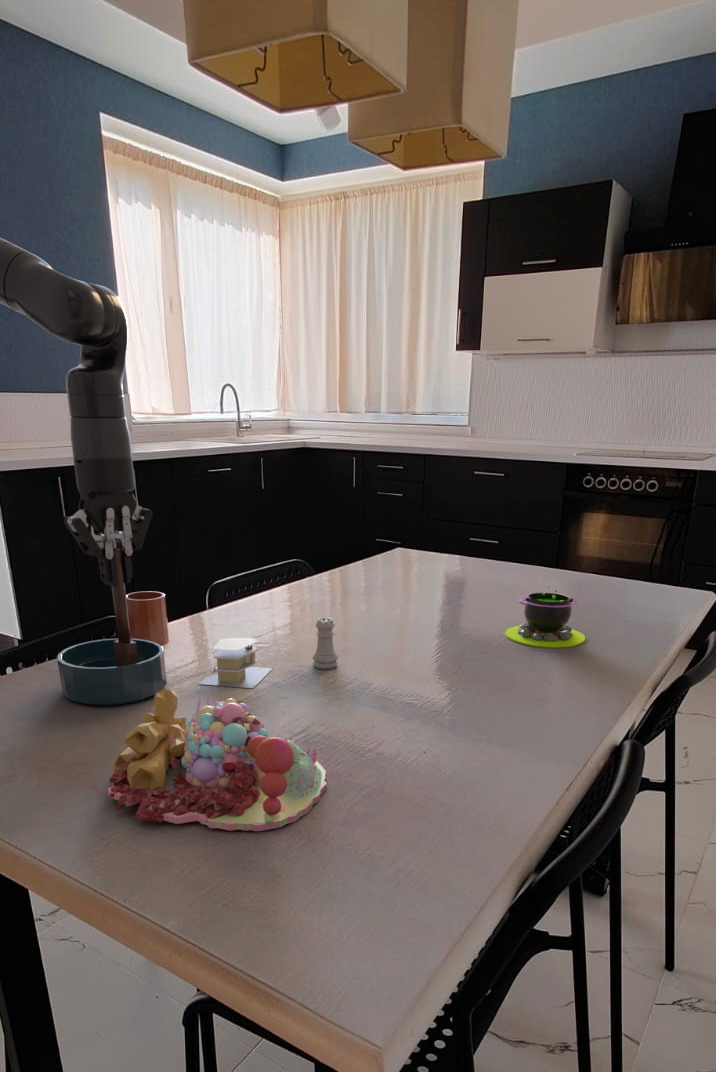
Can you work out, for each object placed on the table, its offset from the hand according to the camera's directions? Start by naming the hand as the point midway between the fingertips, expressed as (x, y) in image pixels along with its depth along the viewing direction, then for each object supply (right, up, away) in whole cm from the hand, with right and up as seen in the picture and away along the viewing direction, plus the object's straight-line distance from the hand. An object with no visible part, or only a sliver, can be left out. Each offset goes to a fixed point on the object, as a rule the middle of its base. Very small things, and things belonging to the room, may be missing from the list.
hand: (117, 582), depth 109 cm
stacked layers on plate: (+15, -12, +15) cm, 24 cm away
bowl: (-3, -15, +9) cm, 17 cm away
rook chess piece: (+29, -10, +21) cm, 37 cm away
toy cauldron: (+70, -3, +38) cm, 80 cm away
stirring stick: (0, -12, +5) cm, 13 cm away
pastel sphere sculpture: (+18, -27, -19) cm, 38 cm away
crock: (-4, -5, +31) cm, 31 cm away
